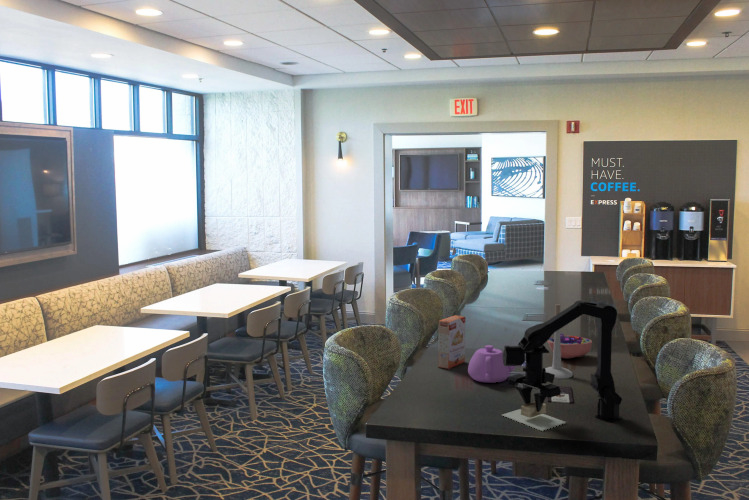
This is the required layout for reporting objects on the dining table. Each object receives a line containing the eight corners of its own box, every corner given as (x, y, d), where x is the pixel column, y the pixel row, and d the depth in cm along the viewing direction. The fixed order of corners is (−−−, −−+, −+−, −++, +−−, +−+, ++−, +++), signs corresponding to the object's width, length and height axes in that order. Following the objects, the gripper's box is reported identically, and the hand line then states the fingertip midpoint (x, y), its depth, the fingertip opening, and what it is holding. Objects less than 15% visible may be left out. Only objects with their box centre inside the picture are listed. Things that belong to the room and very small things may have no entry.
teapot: (522, 388, 268) (522, 354, 266) (466, 386, 272) (466, 352, 271) (521, 372, 289) (522, 340, 288) (469, 370, 294) (469, 338, 292)
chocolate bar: (571, 386, 268) (573, 402, 251) (571, 389, 268) (573, 404, 251) (547, 385, 270) (547, 400, 253) (547, 387, 270) (547, 403, 253)
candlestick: (537, 376, 284) (538, 304, 280) (545, 368, 295) (546, 299, 291) (568, 380, 278) (570, 307, 274) (575, 372, 289) (577, 301, 285)
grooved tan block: (529, 417, 231) (530, 408, 231) (520, 414, 234) (521, 405, 234) (545, 412, 236) (546, 403, 235) (536, 409, 239) (536, 400, 238)
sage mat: (566, 423, 231) (566, 422, 231) (541, 431, 224) (541, 430, 224) (525, 408, 246) (525, 407, 246) (501, 416, 239) (501, 414, 239)
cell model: (596, 362, 302) (597, 337, 301) (551, 363, 302) (551, 338, 301) (585, 352, 319) (586, 328, 318) (542, 353, 319) (542, 329, 318)
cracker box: (449, 369, 295) (449, 321, 292) (437, 367, 298) (437, 320, 296) (465, 362, 306) (466, 316, 303) (454, 360, 309) (454, 314, 307)
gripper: (571, 367, 230) (571, 412, 232) (529, 355, 245) (528, 397, 247) (549, 373, 224) (548, 419, 225) (507, 360, 239) (507, 404, 240)
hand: (533, 409), depth 235 cm, fingers open, 4 cm apart
